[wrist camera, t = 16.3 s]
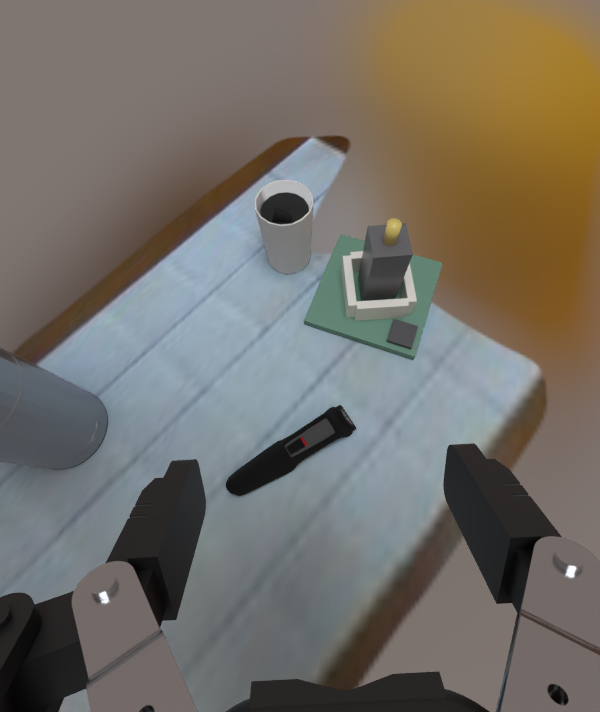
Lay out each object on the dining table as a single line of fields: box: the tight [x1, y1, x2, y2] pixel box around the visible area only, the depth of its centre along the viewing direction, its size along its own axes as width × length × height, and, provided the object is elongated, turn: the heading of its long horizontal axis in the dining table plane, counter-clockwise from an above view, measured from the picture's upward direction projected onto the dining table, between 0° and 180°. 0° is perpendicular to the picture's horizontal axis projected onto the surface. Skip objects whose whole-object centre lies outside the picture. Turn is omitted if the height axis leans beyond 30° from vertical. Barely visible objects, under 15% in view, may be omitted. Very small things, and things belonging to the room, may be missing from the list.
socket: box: [341, 251, 417, 321], centre depth 47 cm, size 8×8×3 cm
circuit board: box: [304, 234, 442, 360], centre depth 49 cm, size 14×14×2 cm
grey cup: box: [255, 180, 313, 274], centre depth 48 cm, size 7×7×10 cm
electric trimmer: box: [226, 405, 356, 496], centre depth 42 cm, size 4×15×3 cm, turn 121°
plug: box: [358, 218, 413, 301], centre depth 43 cm, size 4×4×12 cm
